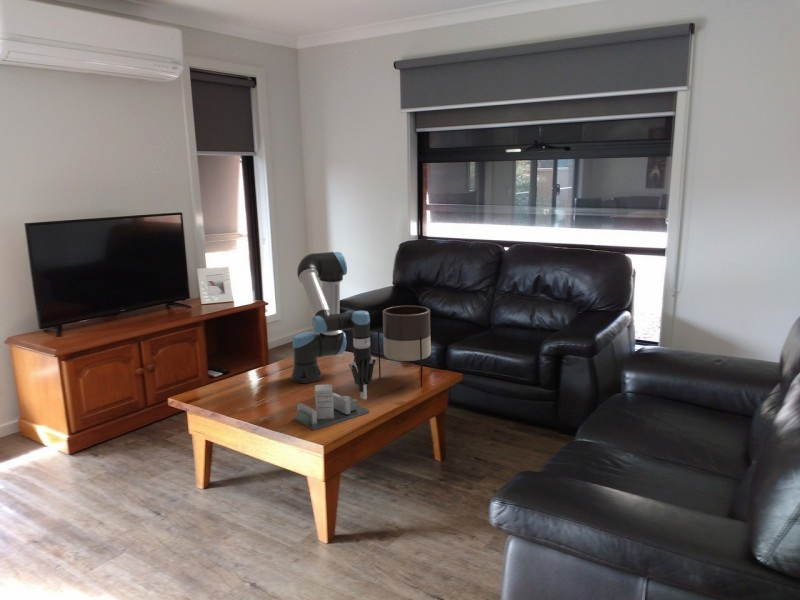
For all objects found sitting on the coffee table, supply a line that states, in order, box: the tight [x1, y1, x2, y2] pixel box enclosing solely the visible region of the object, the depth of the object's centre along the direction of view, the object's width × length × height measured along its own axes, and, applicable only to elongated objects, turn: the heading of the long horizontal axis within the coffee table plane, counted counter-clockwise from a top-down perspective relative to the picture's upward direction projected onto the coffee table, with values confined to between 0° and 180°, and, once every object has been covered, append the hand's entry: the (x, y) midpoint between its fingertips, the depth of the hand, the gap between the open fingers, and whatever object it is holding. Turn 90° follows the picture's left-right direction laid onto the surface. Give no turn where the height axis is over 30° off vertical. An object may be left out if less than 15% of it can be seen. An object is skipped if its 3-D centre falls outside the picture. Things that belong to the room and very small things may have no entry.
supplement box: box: [314, 383, 334, 419], centre depth 253 cm, size 7×7×13 cm
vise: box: [292, 402, 370, 431], centre depth 256 cm, size 16×28×7 cm, turn 130°
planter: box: [377, 305, 432, 388], centre depth 299 cm, size 26×25×35 cm
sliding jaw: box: [333, 392, 358, 414], centre depth 260 cm, size 12×7×6 cm, turn 40°
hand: (363, 398), depth 266 cm, fingers closed
